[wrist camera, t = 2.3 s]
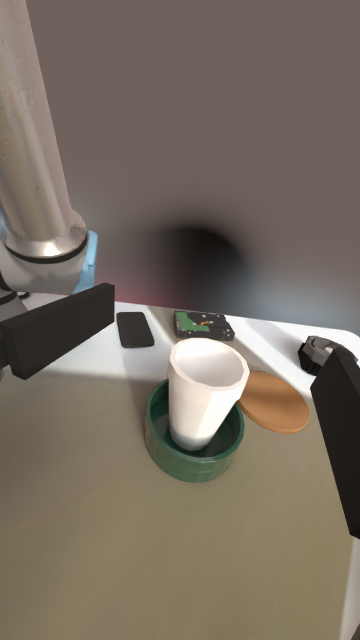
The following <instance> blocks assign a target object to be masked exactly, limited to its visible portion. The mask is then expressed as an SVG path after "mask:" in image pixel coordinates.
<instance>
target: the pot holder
mask: <svg viewBox="0 0 360 640" xmlns="http://www.w3.org/2000/svg"><path fill="white" fill-rule="evenodd" d="M237 403H238V405H239V406H240V408H241V409H242V410H243V412H244V413H245V414H246V415H247V416H248V417H249V418H251V419H252V420H253V421H255V422H256V423H257V424H259V425H261V426H263V427H265V428H267V429H269V430H272V431H275V432H278V433H287V434H290V433H295V432H298V431H300V430H302V429H303V428H304V426H305V425H306V423H307V422H308V419H309V410H308V407H307V404H306V402H305V401H304V399H303V398H302V396H301V395H300V394H299V393H298V392H297V391H296V390H295V389H294V388H293V387H292V386H291V385H289V384H288V383H287V382H285V381H283V380H282V379H280V378H278V377H276V376H274V375H271V374H268V373H264V372H259V371H250V373H249V376H248V379H247V382H246V385H245V387H244V389H243V392H242V394H241V397H240V399H238V400H237Z"/></svg>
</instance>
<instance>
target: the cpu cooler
mask: <svg viewBox="0 0 360 640" xmlns="http://www.w3.org/2000/svg"><path fill="white" fill-rule="evenodd" d="M333 349H336V350H340V351H343V352H347V353H350V354H351V356H352V357H353V359H354V360H355V362H357V361H358V359H357V358H356V357H355V355H354V354H353V353H352V352H351V351H349V350H348V349H347V348H345V347H344V346H342V345H341V344H338V343H336V342H333V341H331V340H329V339H325V338H321V337H318V336H308V338H307V340H306V343H302V345H301V347H300V349H299V351H298V355H299V359H300V362H301V366H302V369H303V370H306V371H307V373H309V374H312V375H315V376H317V375H318V373H319V372H320V370H321V368H322V367H323V365H324V363H325V362H326V360H327V358H328V357H329V355H330V353H331V352H332V350H333Z"/></svg>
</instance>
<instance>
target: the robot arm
mask: <svg viewBox="0 0 360 640" xmlns="http://www.w3.org/2000/svg"><path fill="white" fill-rule="evenodd" d="M0 214H1V216H0V382H1V380H2V378H3V375H4V370H3V368H4V367H6V366H7V365H9V364H10V367H11V370H12V374H13V375H15V376H17V377H19V378H21V379H23V380H26V379H28V378H29V377H31V376H32V375H34V374H36V373H37V372H39V371H40V370H42V369H43V368H45V367H46V366H48V365H49V364H51V363H52V362H54V361H55V360H57V359H58V358H60V357H61V356H63V355H64V354H66V353H67V352H69V351H70V350H72V349H74V348H75V347H77V346H78V345H80V344H81V343H83V342H84V341H86V340H87V339H89V338H90V337H92V336H93V335H95V334H96V333H98V332H99V331H101V330H102V329H104V328H105V327H107V326H108V325H110V324H112V323H113V322H114V292H115V290H114V288H115V287H114V285H111V284H108V283H102V284H100V285H97V286H94V280H95V269H96V258H97V257H96V256H97V245H98V236H97V234H96V233H95V232H92V231H90V230H87V231H86V227H85V223H84V221H83V219H82V218H81V216H80V215H79V214H78V213H77V212H75V211H74V210H72V209H71V205H70V201H69V196H68V192H67V187H66V183H65V178H64V174H63V170H62V165H61V160H60V156H59V151H58V147H57V142H56V138H55V133H54V129H53V124H52V120H51V115H50V111H49V106H48V101H47V97H46V92H45V88H44V84H43V79H42V75H41V70H40V65H39V61H38V56H37V52H36V47H35V43H34V38H33V33H32V29H31V24H30V20H29V16H28V11H27V6H26V2H25V0H0ZM17 292H26V293H25V294H24V295H20V296H18V294H17ZM30 292H34V293H50V294H66V295H67V294H68V295H70V296H68V297H65V298H62V299H60V300H57V301H54V302H52V303H49V304H46V305H44V306H41V307H38V308H36V309H33V310H30V311H28V310H27V309H26V308H25V306H24V305H23V303H22V302H21V300H20V299H22V298H26V297H28V296H29V294H30ZM310 390H311V394H312V397H313V401H314V405H315V408H316V412H317V416H318V419H319V423H320V427H321V430H322V434H323V438H324V441H325V445H326V449H327V452H328V456H329V460H330V463H331V467H332V470H333V474H334V478H335V481H336V485H337V489H338V492H339V496H340V500H341V503H342V507H343V511H344V514H345V518H346V522H347V525H348V529H349V533H350V535H352V536H354V537H356V538H358V539H360V368H359V366H358V365H357V363H356V362H355V360H354V359H353V357H352V356H351V354H350V353H347V352H343V351H340V350H336V349H333V350H332V352H331V353H330V355H329V357H328V358H327V360H326V362H325V363H324V365H323V367H322V368H321V370H320V372H319V373H318V375H317V377H316V378H315V380H314V382H313V383H312V385H311V387H310ZM351 640H360V624H359V626H358V628H357V630H356V631H355V633H354V635H353V637H352V639H351Z"/></svg>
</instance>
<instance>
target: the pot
mask: <svg viewBox="0 0 360 640" xmlns="http://www.w3.org/2000/svg"><path fill="white" fill-rule="evenodd" d="M243 434H244V420H243V414H242V412H241V410H240V408H239V405H238V404H237V402H235V403H234V405H233V406H232V408H231V409H230V411H229V412H228V414H227V415H226V417H225V419H224V420H223V422H222V423H221V425H220V426H219V428H218V429H217V431H216V433H215V434H214V436H213V437H212V439H211V440H210V442H209V443H208V444H207V445H206V446H205V447H203V448H202V449H201V450H193V451H189V450H187V449H184V448H181V447H180V446H179V445H178V444H176V443H175V442H174V441H173V439H172V437H171V434H170V432H169V379H166V380H164V381H162V382H161V383H160V384H159V385H157V386H156V387H155V388H154V390H153V391H152V393H151V394H150V396H149V399H148V402H147V405H146V413H145V423H144V438H145V443H146V446H147V449H148V452H149V453H150V455H151V457H152V459H153V460H154V461H155V463H156V464H157V465H158V466H159V467H160V468H161V469H162V470H163V471H165V472H166V473H167V474H169V475H171V476H172V477H174V478H177V479H179V480H183V481H186V482H204V481H209V480H211V479H214V478H216V477H217V476H219V475H220V474H221V473H223V472H224V471H225V470H226V468H227V467H228V466H229V465H230V463H231V461H232V459H233V457H234V455H235V452H236V450H237V448H238V446H239V444H240V442H241V440H242V438H243Z"/></svg>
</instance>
